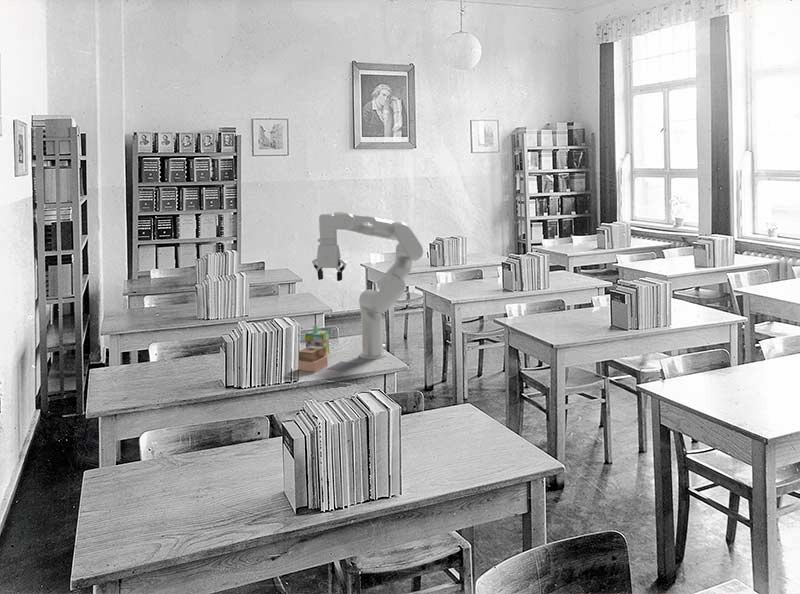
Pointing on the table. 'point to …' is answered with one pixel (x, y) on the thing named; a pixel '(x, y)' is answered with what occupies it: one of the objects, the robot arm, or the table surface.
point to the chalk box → (318, 339)
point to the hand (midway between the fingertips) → (330, 280)
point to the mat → (343, 366)
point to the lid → (311, 353)
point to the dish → (313, 364)
